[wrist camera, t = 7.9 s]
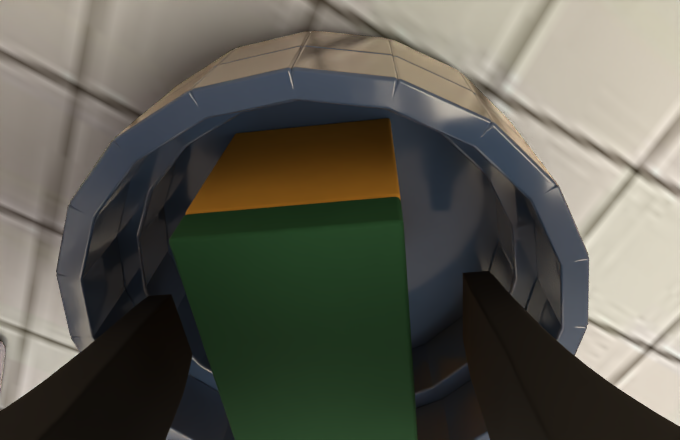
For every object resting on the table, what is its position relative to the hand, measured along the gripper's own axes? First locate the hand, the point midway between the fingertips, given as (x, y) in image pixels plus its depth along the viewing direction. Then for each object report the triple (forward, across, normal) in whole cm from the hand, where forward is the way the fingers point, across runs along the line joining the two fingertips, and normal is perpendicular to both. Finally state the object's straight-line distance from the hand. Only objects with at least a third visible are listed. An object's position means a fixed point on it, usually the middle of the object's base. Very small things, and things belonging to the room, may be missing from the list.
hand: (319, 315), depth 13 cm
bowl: (+4, 0, 0) cm, 4 cm away
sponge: (+3, 0, 0) cm, 3 cm away
